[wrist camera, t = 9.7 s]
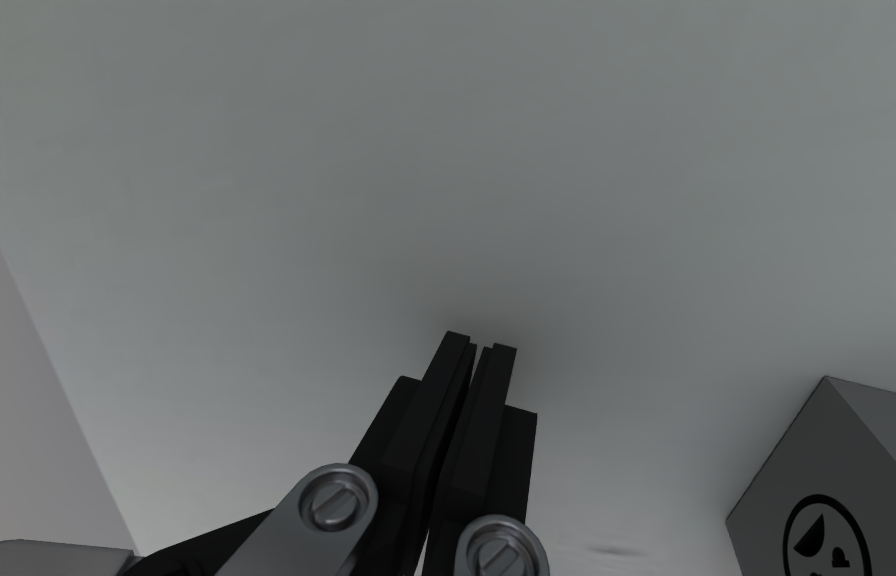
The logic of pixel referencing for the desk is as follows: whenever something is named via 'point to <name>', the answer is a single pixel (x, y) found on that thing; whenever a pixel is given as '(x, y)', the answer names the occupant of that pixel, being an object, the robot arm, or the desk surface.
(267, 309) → the desk surface
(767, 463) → the dice cube
